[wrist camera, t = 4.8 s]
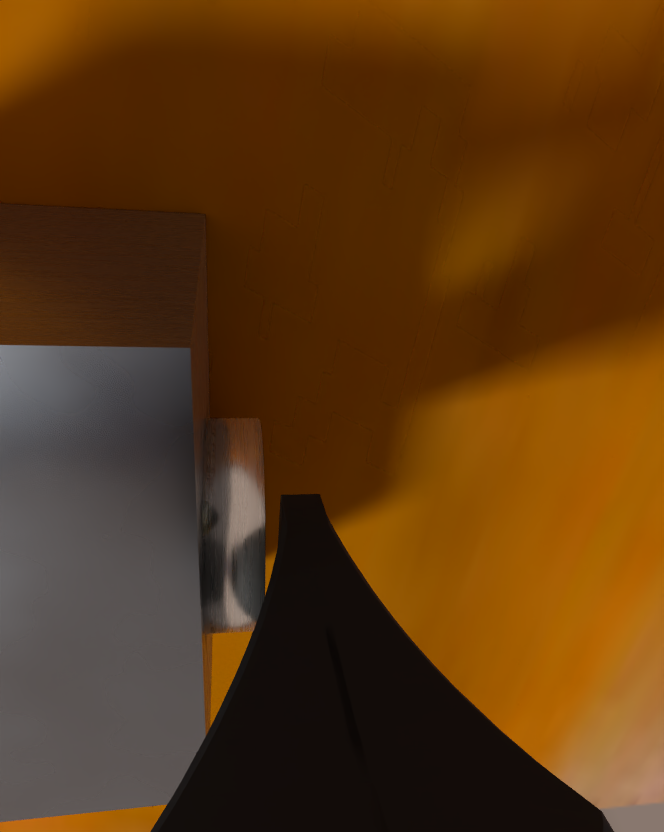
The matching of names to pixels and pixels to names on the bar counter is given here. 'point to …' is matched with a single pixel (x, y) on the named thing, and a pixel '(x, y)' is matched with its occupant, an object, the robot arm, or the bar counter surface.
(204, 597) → the lynch pin
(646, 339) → the bar counter surface
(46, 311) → the block
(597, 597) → the bar counter surface
